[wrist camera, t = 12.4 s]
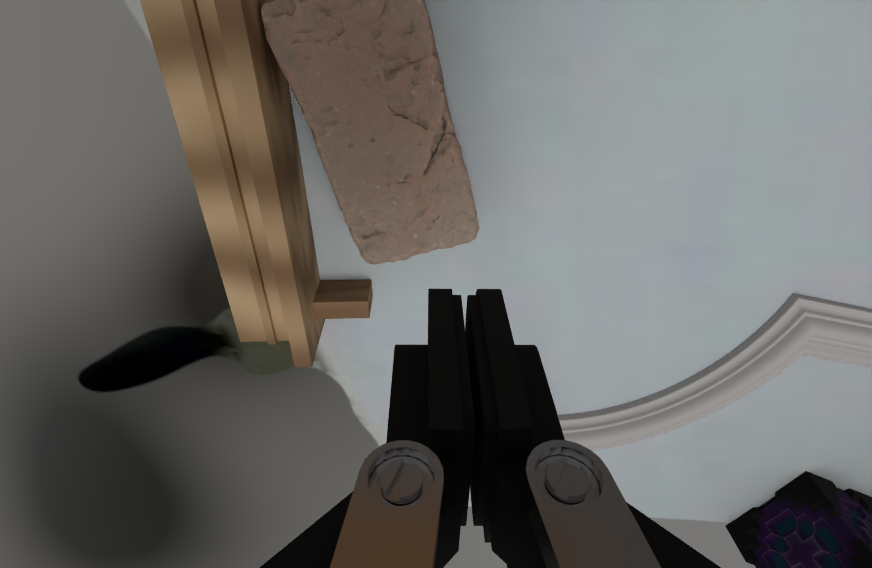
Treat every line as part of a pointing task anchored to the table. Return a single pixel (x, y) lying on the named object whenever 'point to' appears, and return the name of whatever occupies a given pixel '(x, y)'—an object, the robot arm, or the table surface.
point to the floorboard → (248, 170)
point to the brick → (377, 120)
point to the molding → (733, 372)
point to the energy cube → (807, 527)
